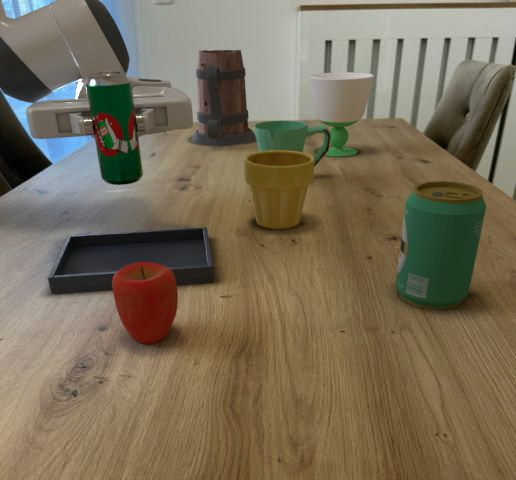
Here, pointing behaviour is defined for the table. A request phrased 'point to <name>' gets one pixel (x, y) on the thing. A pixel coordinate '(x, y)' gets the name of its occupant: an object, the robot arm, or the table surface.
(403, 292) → the beverage can
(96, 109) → the soda can
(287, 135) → the mug
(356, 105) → the cup
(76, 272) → the tray
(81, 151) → the table surface
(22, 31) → the robot arm
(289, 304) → the table surface
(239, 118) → the tankard
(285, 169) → the flower pot
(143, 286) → the apple
